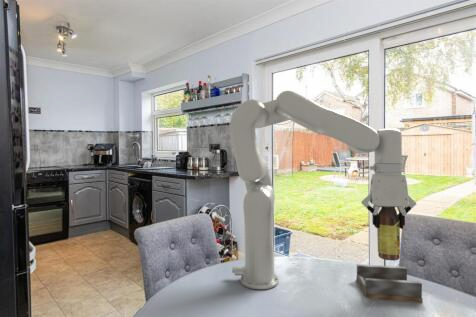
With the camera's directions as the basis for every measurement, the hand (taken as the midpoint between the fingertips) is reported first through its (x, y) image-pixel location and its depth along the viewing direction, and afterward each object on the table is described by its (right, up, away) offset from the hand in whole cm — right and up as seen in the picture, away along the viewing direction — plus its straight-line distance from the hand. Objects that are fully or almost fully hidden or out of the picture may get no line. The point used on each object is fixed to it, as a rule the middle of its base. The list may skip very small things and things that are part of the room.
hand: (388, 226), depth 94 cm
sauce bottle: (0, -10, 0) cm, 10 cm away
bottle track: (0, -20, 0) cm, 20 cm away
